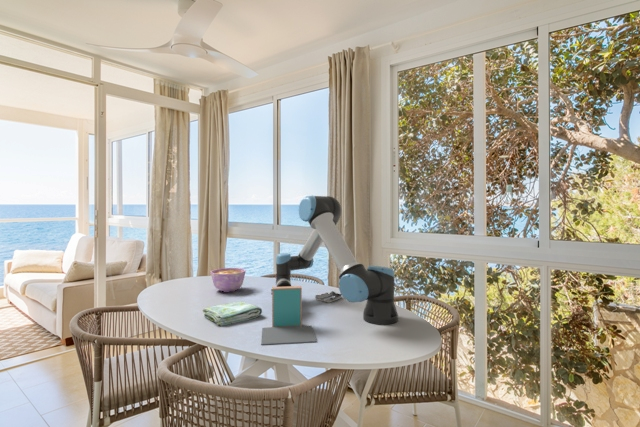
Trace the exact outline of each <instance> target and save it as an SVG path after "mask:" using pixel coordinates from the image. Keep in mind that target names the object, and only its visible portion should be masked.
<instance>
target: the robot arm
mask: <svg viewBox="0 0 640 427" xmlns="http://www.w3.org/2000/svg"><path fill="white" fill-rule="evenodd" d="M298 215H299V218H300V220H301V221H303V222H308V225H310V227H311V229H313V230H312V231H311V233H310V235H309V236H308V238H307V240H306V242H305V243H304V244H303V247H302V248H301V250H300V251H299V253H298V255H292V256H291V254H290V253H288V252H287V253H286V252H281V253H277V254H276V259H275V265H276V266H275V268H276V270H275V271H276V273H275V274H276V275H275V276H276V277H275V285H276V286H275V287H286V286H292V284H291V278H292V277H291V276H292V274H291V273H292V271H298V270H307V269H309V268H312V267H313V265H314V257H315V255H316V253H317V252H318V251H319V249H320V247H321V245H322V244H323V245H324V246H325V248H326V249H327V251H328V253H329V255H330V257H331V259H332V260H333V262H334V264H335V266H336V267H337V269H338V271H339V275H338V279H339V280H338V290H339V294H341V297H343V299H345V300H346V301H347V302H349V303H361V302H362V303H363V302H365V301H366V304H365V307H364V311H363V314H362V316H363V317H362V318H363V320H364V321H365V322H367V323H370V324H376V325H392V324H395V323H397V322H398V321H399V314H398V311H397V307H396V304H395V270H394V269H393V268H391V267H388V266H379V265H368V266H367V268H366V267H365V265H364V264H363V263H362V262H358V261H357V259H356V258H355V256H354V254H353V252H352V251H351V248H350V247H349V245H348V244H347V242H346V240H345V238H343V235H342V234H341V232H340V230H339V228H338V227H337V224H338V223H339V220H340V218H341V216H342V206H341V203H340V202H339V200H338V199H337V198H336V197H333V196H331V195H330V196H328V195H325V196H323V195H307V196H305V197H303V198H302V199H301V200H300V202H299V205H298ZM270 290H271V292H270V293H271V295H272V288H271V289H270Z"/></svg>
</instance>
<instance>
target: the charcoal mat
mask: <svg viewBox="0 0 640 427" xmlns="http://www.w3.org/2000/svg"><path fill="white" fill-rule="evenodd" d="M304 343H306V344H310V343H318V340H317V338H316V335H315V332H314V329H313V326H312V324H311V325H302V326H289V327H271V326H269V327H268V326H267V327H262V330H261V344H260V346H266V345H267V346H271V345H285V344H286V345H288V344H304Z"/></svg>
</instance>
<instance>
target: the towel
mask: <svg viewBox="0 0 640 427" xmlns="http://www.w3.org/2000/svg"><path fill="white" fill-rule="evenodd" d="M202 312H203V314H204V318H207V319H208V320H210V321H211V322H214V323H215V324H216V325H217V326H226V325H231V323H232V324H235V323H240V322H244V321H248V320H253V319H256V318H258V317H259V316H261V315H262V313H263V310H262V308H261V307H259V306H256V305H253V304H251V303H248V302H243V301H234V302H230V303H223V304H217V305H214V306H209V307H208V306H207V307H205V308H204V309H203V310H202Z"/></svg>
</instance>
